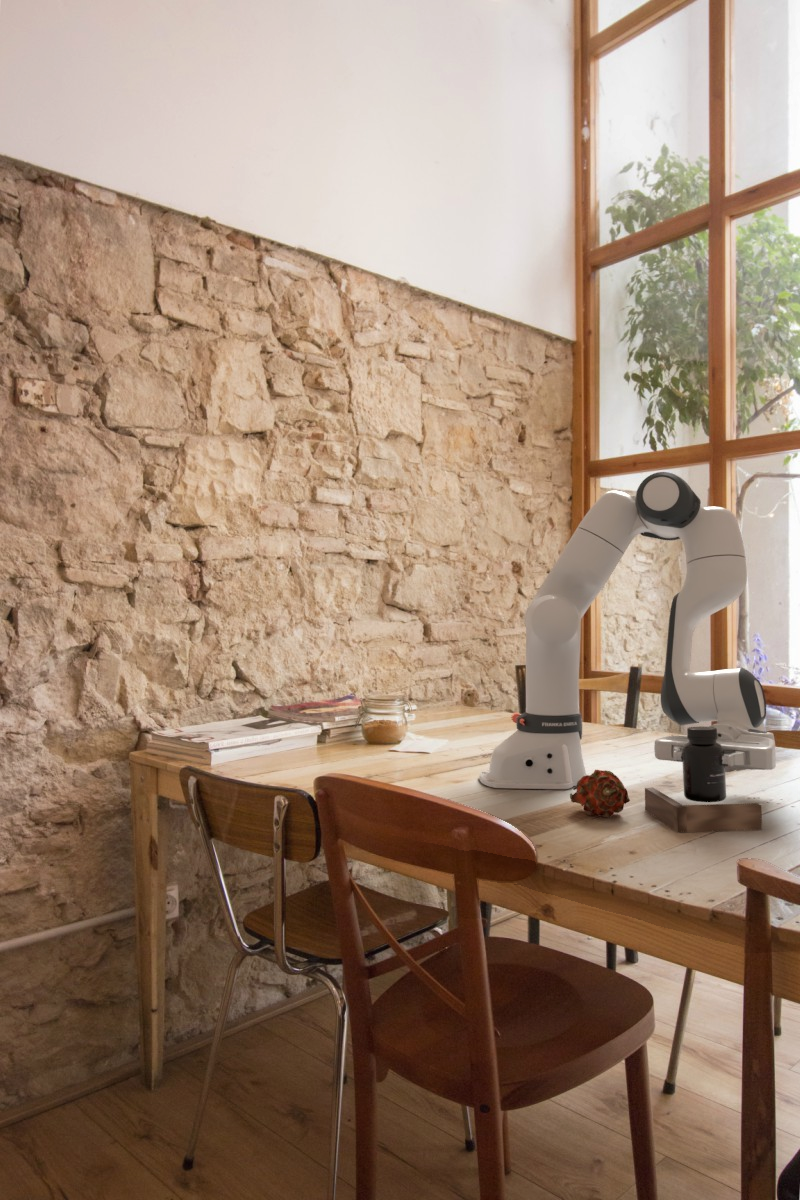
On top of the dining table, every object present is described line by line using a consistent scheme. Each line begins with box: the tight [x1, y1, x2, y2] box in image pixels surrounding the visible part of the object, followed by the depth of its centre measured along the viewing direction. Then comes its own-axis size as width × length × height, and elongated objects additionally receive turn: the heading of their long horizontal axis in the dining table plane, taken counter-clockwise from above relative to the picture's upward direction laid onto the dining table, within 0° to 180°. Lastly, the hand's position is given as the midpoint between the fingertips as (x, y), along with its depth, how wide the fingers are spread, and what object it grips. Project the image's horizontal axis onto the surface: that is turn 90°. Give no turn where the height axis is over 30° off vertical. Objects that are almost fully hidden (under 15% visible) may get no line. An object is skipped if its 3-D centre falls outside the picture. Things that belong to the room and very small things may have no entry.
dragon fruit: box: [569, 769, 631, 819], centre depth 151 cm, size 8×8×12 cm
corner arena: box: [644, 787, 763, 833], centre depth 146 cm, size 14×15×4 cm
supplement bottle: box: [681, 726, 727, 803], centre depth 146 cm, size 7×7×12 cm
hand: (701, 759), depth 145 cm, fingers closed on supplement bottle, 7 cm apart
